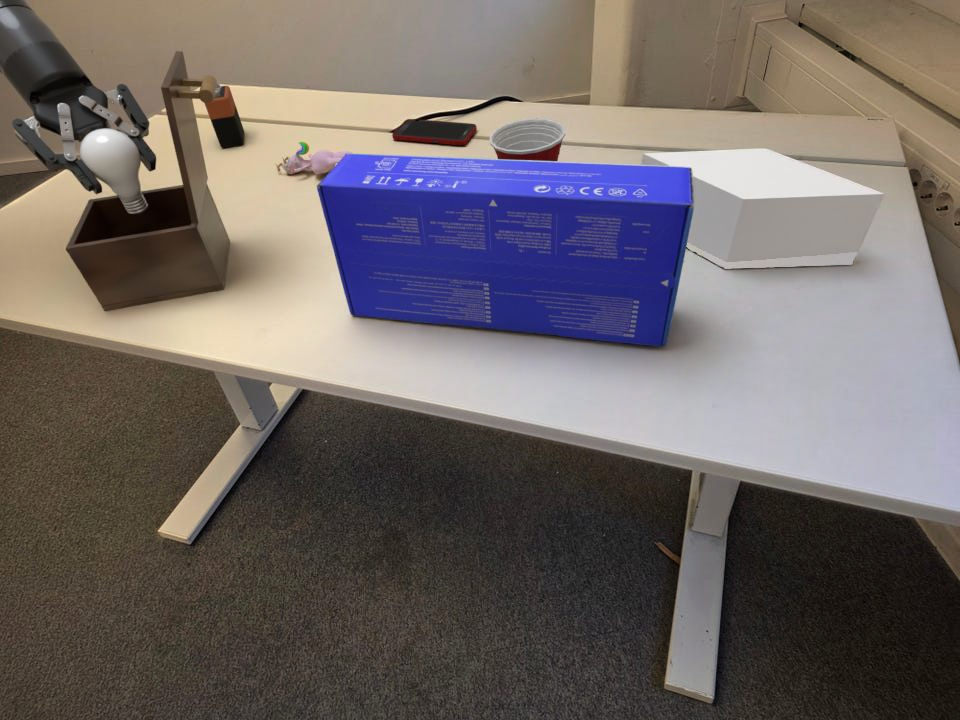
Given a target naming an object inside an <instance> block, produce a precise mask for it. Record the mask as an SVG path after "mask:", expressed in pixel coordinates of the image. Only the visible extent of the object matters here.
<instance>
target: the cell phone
mask: <svg viewBox="0 0 960 720" xmlns="http://www.w3.org/2000/svg"><path fill="white" fill-rule="evenodd" d="M415 120H418V118H407V119H405V120H404V121H403V122H402V123H401V124H400V125H399V126H398V127H397V128H396V129H395V130H394V131H393V133H392V134H391V136H392V139H393V140H396V141H404V142H405V141H406V142H417V143H427V144H428V143H429V144H439V145H440V144H441V145H450V146H451V145H453V146H465V145H467V143H469V141H470V139H471V138H472V137H473V135H474V134H475V133H476V131H477V125H476V124H475V123H469V122H458V121H456V122H455V121H445V120H444V121H443V120H430V119H419V121H415Z"/></svg>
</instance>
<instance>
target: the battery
mask: <svg viewBox="0 0 960 720" xmlns="http://www.w3.org/2000/svg"><path fill="white" fill-rule="evenodd" d="M204 106H205V109H206V111H207V114H208V117H209V119H210V122H211V125H212V127H213V130H214V133H215V135H216V139H217V141H218V144H219V146H220V148H221V149H226V148H233V147H238V146H243V145H244V141H245V128H244V127H243V126H244V125H243V123H242V120H241V117H240V115H239V111H238V109H237V105H236V102H235V100H234V96H233V94H232V91H231V88H230V86H229V85H220V83H217V87H216V91H215V95H214V100H213V101H212V102H211V103H208V104H207V103H204Z"/></svg>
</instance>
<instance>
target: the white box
mask: <svg viewBox="0 0 960 720" xmlns="http://www.w3.org/2000/svg"><path fill="white" fill-rule="evenodd" d="M640 165H657V166H681V167H690V168H691V169H692V171H693V186H694V210H693V216H692V221H691V226H690V231H689V236H688V241H687V243H690V244H691V245H693V246H696V247H697V248H699V249H701V250H703V251H706V252H707V253H709V254H712V255H713V256H715V257H718V258H719V259H722V260H723V261H725V262H737V261H738V262H739V261H752V260H753V261H754V260H766V259H776V258H777V259H778V258H789V257H790V258H791V257H802V256H817V255H827V254H828V255H829V254H839V253H849V252H850V253H851V252H853V253H854V252H858V253H859V252H860V249H861V247H862V245H863V243H864V241H865V239H866V236H867V234H868V233H869V230H870V228H871V225H872V224H873V221H874V218H875V216H876V214H877V213H878V212H877V211H878V209H879V208H880V206H881V203H882V200H883V199H884V196H885V193H884V192H881V191H878V190H875V189H873V188H870V187H868V186H865V185H862V184H860V183H857V182H854V181H852V180H850V179H847V178H844V177H842V176H839V175H837V174H834V173H831V172H828V171H826V170H823V169H821V168H818V167H815V166H813V165H811V164H807V163H805V162H803V161H801V160H797V159H794V158H792V157H789V156H786V155H784V154H782V153H779V152H777V151H774V150H772V149H768V148H766V147H764V148H762V147H761V148H740V149H738V148H737V149H716V150H714V149H713V150H692V151H691V150H690V151H669V152H643V153H642V157H641V163H640Z"/></svg>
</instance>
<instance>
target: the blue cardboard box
mask: <svg viewBox="0 0 960 720" xmlns="http://www.w3.org/2000/svg"><path fill="white" fill-rule="evenodd" d="M316 190H317V194H318V197H319V202H320V205H321V209H322V212H323V216H324V217H323V218H324V220H325V224H326V227H327V232H328V235H329V239H330V243H331V246H332V250H333V253H334V257H335V261H336V265H337V269H338V273H339V277H340V281H341V285H342V288H343V292H344V296H345V301H346V303H347V307H348V311H349V313H350V315H351V316H354V317H361V318H376V319H383V320H395V321H403V322H413V323H423V324H424V323H425V324H432V325H433V324H434V325H446V326H452V327H453V326H454V327H463V328H473V329H482V330H495V331H504V332H506V331H507V332H516V333H524V334H535V335H549V336H559V337H566V338H567V337H568V338H575V339H583V340H593V341H603V342H614V343H622V344H631V345H642V346H653V347H667V346H668V340H669V337H670V336H669V335H670V330H671V326H672V321H673V316H674V311H675V307H676V302H677V301H676V300H677V296H678V291H679V286H680V281H681V275H682V272H683V265H684V262H685V261H684V260H685V255H686V251H687V249H686V246H687V241H688V236H689V231H690V226H691V221H692V216H693V210H694V186H693V171H692V169H691V168H690V167H681V166H657V165H641V164H630V163H629V164H628V163H607V162H605V163H603V162H583V161H581V162H580V161H579V162H578V161H532V160H505V159H498V158H479V157H478V158H475V157H472V158H470V157H451V156H449V157H447V156H427V155H425V156H424V155H421V156H420V155H397V154H373V153H372V154H371V153H353V154H347V153H346V154H345V156H344V157H343V158H342V159H341V160H340V161H339V162H338V163H336V164H335V167H334V168H333V169H332V170H331V171H329V172H328V174H326V176H324V177H323V178H322V179H321V180H320V182H318V184H317V185H316Z"/></svg>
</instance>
